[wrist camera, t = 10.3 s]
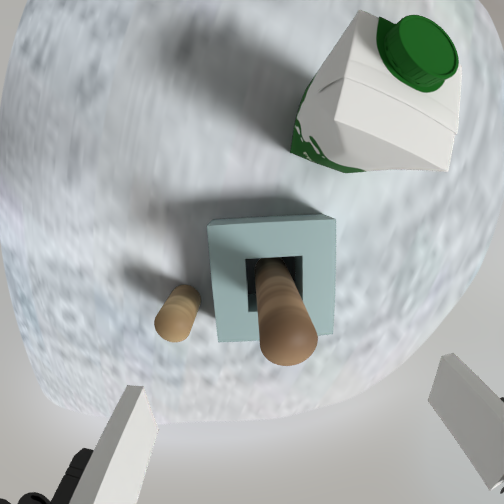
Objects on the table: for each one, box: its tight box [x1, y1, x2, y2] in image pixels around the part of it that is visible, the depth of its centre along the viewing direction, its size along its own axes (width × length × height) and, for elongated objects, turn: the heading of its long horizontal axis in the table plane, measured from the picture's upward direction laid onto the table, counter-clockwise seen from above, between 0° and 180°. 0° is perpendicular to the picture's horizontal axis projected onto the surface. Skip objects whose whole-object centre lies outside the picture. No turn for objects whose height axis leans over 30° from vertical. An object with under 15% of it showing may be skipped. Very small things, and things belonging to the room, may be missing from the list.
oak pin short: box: [154, 285, 201, 342], centre depth 31 cm, size 4×4×7 cm
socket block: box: [207, 214, 336, 342], centre depth 31 cm, size 12×12×5 cm
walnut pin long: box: [255, 257, 318, 366], centre depth 26 cm, size 4×4×16 cm
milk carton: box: [290, 10, 462, 173], centre depth 20 cm, size 9×9×20 cm
